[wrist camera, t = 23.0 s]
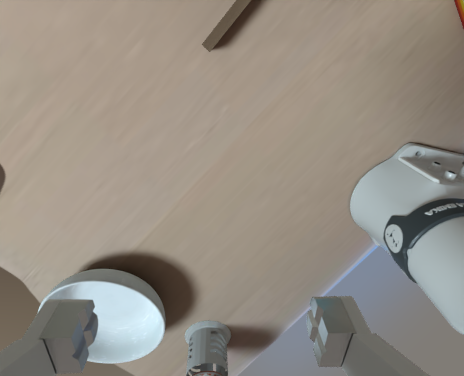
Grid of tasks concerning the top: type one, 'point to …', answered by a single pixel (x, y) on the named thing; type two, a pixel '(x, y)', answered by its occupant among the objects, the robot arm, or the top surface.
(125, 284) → the serving bowl
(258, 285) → the top surface
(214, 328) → the french press
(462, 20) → the baking soda box
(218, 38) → the walnut cubby
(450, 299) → the robot arm
